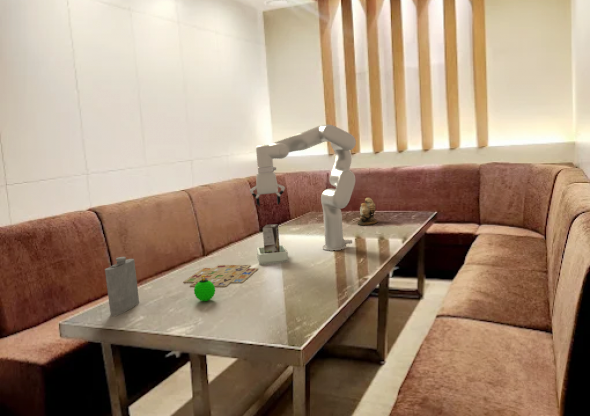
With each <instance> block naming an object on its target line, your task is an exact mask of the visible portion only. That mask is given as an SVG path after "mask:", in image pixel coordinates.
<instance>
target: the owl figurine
mask: <svg viewBox="0 0 590 416" xmlns="http://www.w3.org/2000/svg"><path fill="white" fill-rule="evenodd" d="M359 212H360V213H359V214H360V216H359V220H358V222H357V226H360V227H369V226H373V225H376V224H378V220H377V219H376V218H374V217H375V212H376V203H375V202H374V200H373V199H372V198H370V197H366V198H365V199H364V202H363V203H360V207H359Z"/></svg>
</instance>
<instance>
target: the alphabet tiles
mask: <svg viewBox="0 0 590 416" xmlns="http://www.w3.org/2000/svg"><path fill="white" fill-rule="evenodd" d="M258 269H259V268H258V267H251V264H218V265H217V266H215V267H203V268H201V269H199V270H198V271H196V273H194V274H192V275H190V277H187V278H186V279H185V280H184V281H183V282H182V283H183V284H189V287H190V288H194V287H195V285H196V284H197V283H198V282H199V281H200V280H202V279H204V277H203V278H202V277H201V276H202V275H205V279H207V280H208V281H211V282H212V283H213V285H214V287H215V288H226V287H227V286H229V285H230V284H243V283H245V281H246V280H248V279H249V278H251V276H253V274H255V272H257V271H258Z"/></svg>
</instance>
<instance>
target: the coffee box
mask: <svg viewBox="0 0 590 416" xmlns="http://www.w3.org/2000/svg"><path fill="white" fill-rule="evenodd" d="M279 234H280V232H279V224H277V223H275V224H265V225H264V226H263V227H262V237H263V240H262V241H263V247H264V253H265V254H266V253H276V252H280V245H281V244H280V235H279Z"/></svg>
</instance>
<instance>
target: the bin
mask: <svg viewBox="0 0 590 416" xmlns="http://www.w3.org/2000/svg"><path fill="white" fill-rule="evenodd" d="M256 255H257V257H256V258H257V261H258V264H259V266H261V265H270V264H271V265H272V264H280V263H289V254H288V250H287V248H286V247H285V244H280V252H276V253H266V254H265V253H264V246H259V247H256Z"/></svg>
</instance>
